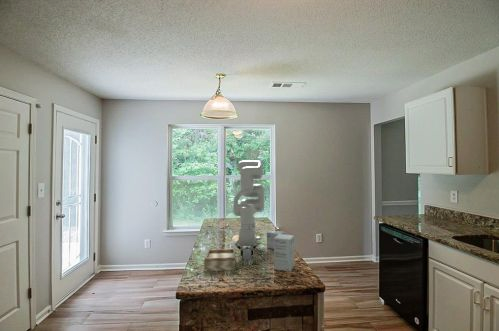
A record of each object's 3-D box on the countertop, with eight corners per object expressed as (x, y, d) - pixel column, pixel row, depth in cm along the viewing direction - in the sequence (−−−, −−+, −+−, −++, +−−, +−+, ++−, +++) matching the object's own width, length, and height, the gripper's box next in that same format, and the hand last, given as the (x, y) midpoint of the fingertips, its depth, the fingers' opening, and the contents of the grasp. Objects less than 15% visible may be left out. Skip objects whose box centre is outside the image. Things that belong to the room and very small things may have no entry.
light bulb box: (284, 247, 187) (284, 231, 187) (281, 250, 181) (281, 233, 181) (270, 245, 192) (269, 230, 192) (266, 248, 186) (266, 232, 186)
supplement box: (279, 263, 156) (278, 233, 156) (295, 265, 152) (294, 235, 152) (273, 269, 147) (273, 237, 147) (290, 271, 143) (290, 239, 143)
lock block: (250, 255, 170) (250, 244, 170) (251, 259, 163) (251, 247, 163) (242, 255, 170) (242, 244, 170) (242, 259, 163) (242, 248, 163)
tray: (235, 260, 162) (235, 249, 162) (234, 270, 146) (234, 257, 147) (208, 260, 162) (208, 249, 162) (204, 270, 146) (204, 258, 146)
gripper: (260, 225, 171) (260, 254, 171) (232, 225, 170) (233, 255, 170) (261, 227, 163) (261, 258, 163) (232, 228, 163) (232, 259, 163)
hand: (247, 256), depth 167 cm, fingers closed on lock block, 5 cm apart
